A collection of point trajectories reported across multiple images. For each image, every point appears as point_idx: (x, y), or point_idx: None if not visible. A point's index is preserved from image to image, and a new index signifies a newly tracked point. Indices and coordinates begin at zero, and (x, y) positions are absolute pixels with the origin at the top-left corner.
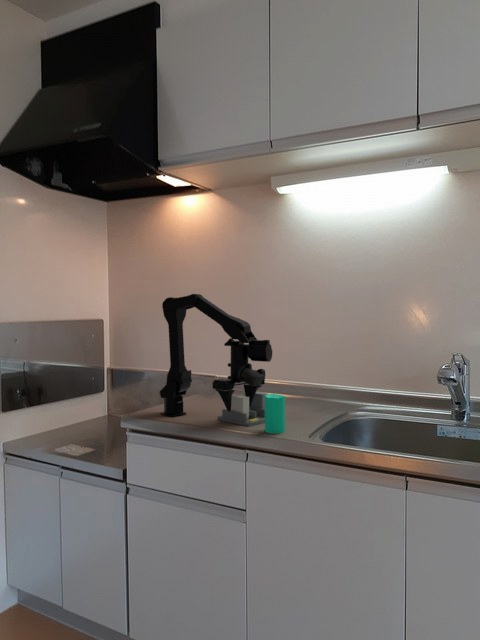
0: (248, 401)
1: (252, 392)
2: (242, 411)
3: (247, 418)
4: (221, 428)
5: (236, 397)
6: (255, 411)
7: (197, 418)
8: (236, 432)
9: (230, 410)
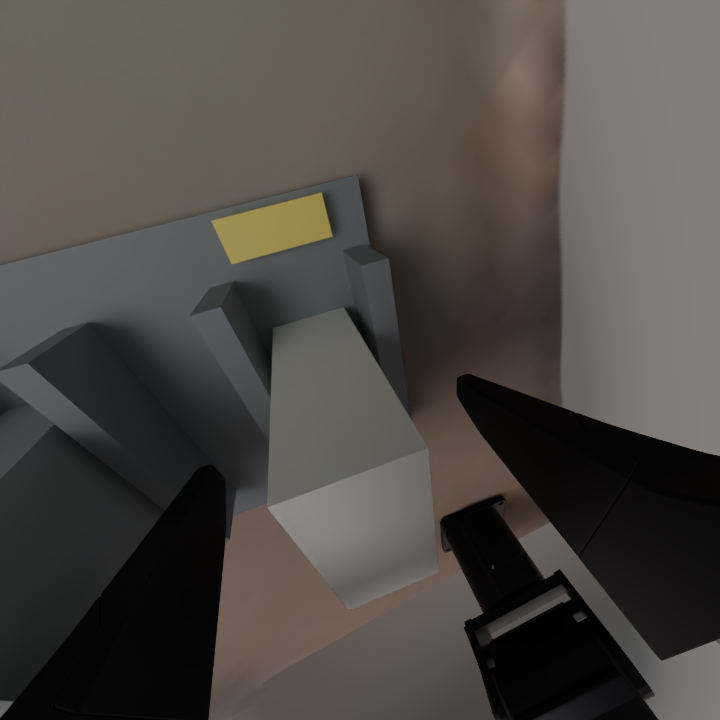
0: (283, 438)
1: (92, 696)
2: (364, 344)
3: (292, 325)
4: (523, 252)
5: (431, 519)
6: (202, 325)
7: (451, 469)
8: (559, 43)
9: (463, 376)
